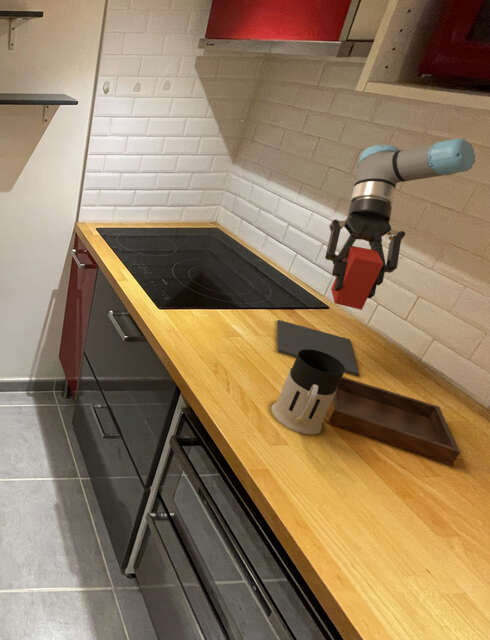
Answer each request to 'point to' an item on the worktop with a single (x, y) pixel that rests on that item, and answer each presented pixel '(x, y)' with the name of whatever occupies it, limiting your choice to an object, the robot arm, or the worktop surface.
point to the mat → (315, 344)
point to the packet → (358, 277)
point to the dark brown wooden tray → (393, 420)
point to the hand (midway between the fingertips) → (354, 292)
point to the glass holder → (308, 391)
